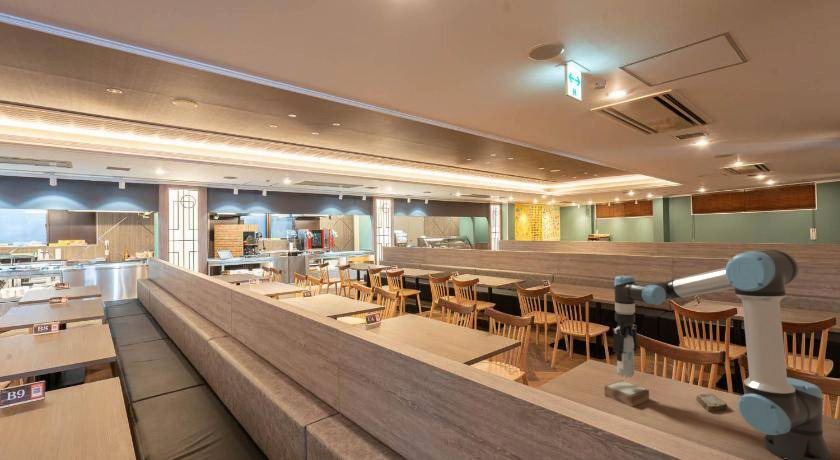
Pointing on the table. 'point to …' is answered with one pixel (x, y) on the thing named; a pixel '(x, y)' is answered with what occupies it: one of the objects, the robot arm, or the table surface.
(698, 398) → the stone
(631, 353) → the bottle
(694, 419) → the table surface
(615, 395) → the picture frame
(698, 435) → the table surface
